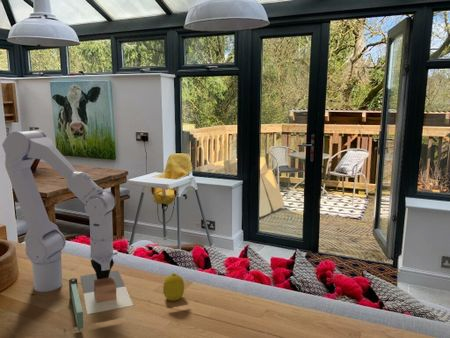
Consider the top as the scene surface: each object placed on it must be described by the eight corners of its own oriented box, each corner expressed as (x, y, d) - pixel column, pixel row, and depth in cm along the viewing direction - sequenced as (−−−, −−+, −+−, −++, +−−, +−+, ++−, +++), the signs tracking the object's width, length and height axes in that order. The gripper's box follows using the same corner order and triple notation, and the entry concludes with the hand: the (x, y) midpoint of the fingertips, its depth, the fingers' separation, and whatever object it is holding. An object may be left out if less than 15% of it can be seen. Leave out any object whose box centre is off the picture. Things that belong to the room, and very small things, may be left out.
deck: (80, 279, 111) (80, 276, 111) (118, 273, 116) (118, 270, 116) (87, 317, 91) (87, 314, 91) (133, 308, 96) (133, 305, 96)
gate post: (69, 300, 99) (68, 279, 98) (77, 299, 100) (76, 277, 99) (70, 304, 97) (69, 282, 96) (78, 302, 98) (77, 280, 97)
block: (94, 294, 101) (93, 279, 100) (113, 290, 103) (113, 276, 102) (96, 302, 96) (96, 288, 96) (116, 299, 98) (116, 284, 98)
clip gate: (76, 297, 98) (76, 283, 97) (83, 328, 84) (82, 311, 84) (71, 298, 97) (71, 284, 96) (77, 329, 84) (77, 312, 83)
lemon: (184, 296, 103) (185, 269, 101) (183, 307, 97) (183, 278, 96) (164, 296, 102) (164, 268, 101) (161, 307, 97) (161, 277, 96)
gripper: (121, 244, 96) (122, 294, 98) (112, 227, 109) (113, 272, 111) (92, 248, 93) (93, 299, 95) (86, 230, 106) (88, 276, 108)
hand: (102, 285), depth 103 cm, fingers closed
